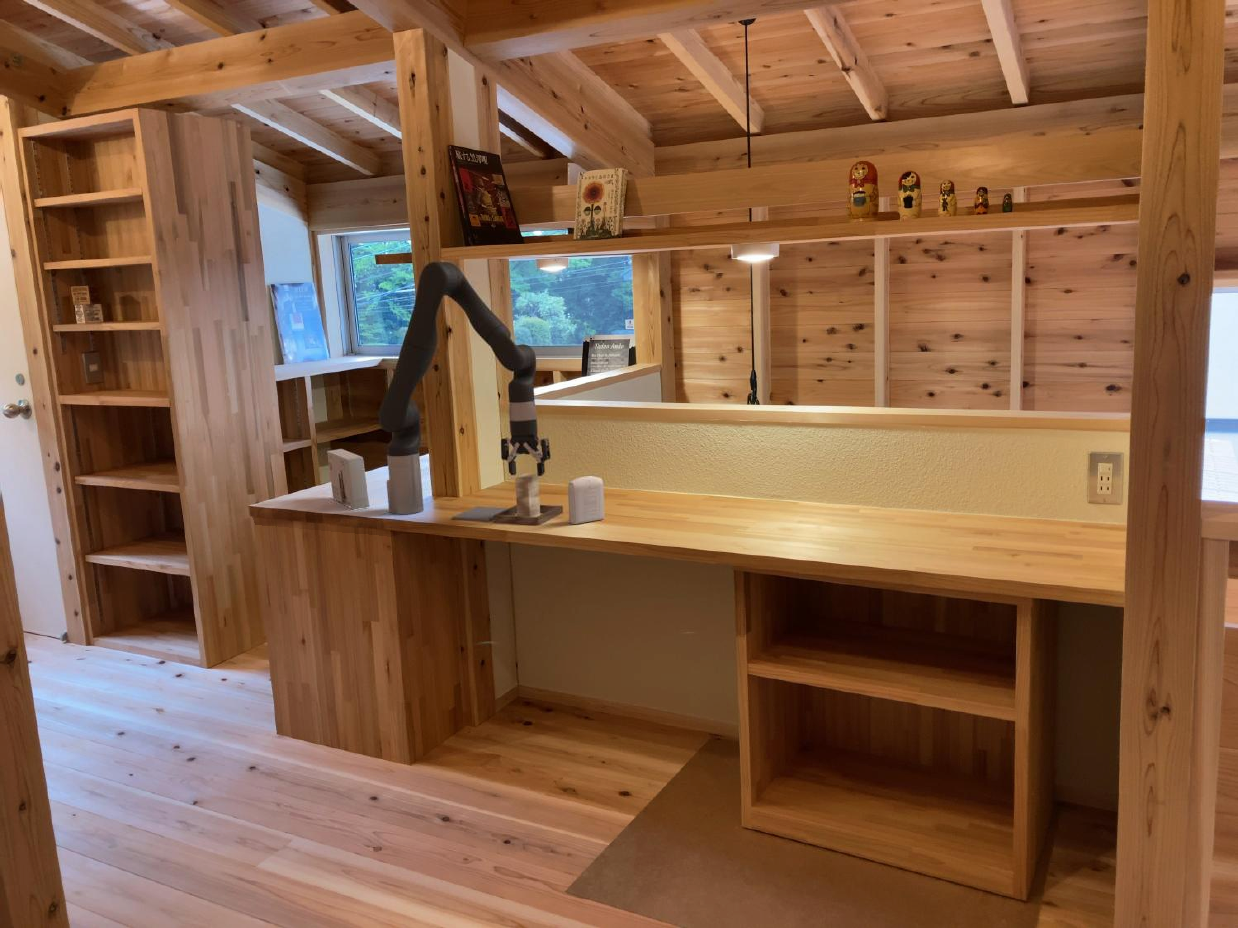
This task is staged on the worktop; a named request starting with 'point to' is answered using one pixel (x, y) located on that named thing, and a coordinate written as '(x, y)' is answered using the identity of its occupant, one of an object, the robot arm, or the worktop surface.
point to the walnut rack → (507, 517)
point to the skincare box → (348, 478)
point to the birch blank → (527, 495)
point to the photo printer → (586, 499)
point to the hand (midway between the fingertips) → (527, 475)
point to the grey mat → (479, 513)
